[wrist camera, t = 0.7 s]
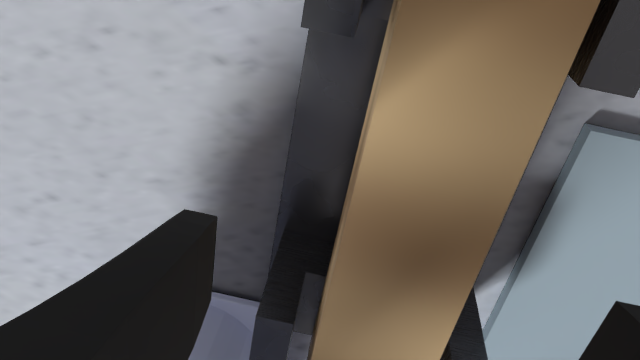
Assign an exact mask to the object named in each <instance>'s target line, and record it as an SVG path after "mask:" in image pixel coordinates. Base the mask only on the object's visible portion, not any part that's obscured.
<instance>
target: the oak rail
mask: <svg viewBox="0 0 640 360" xmlns="http://www.w3.org/2000/svg"><path fill="white" fill-rule="evenodd" d="M600 1H601V0H394V1H393V5H392V9H391V13H390V17H389V21H388V25H387V30H386V34H385V38H384V42H383V46H382V50H381V54H380V58H379V62H378V67H377V71H376V75H375V79H374V83H373V87H372V91H371V95H370V99H369V104H368V108H367V112H366V116H365V120H364V124H363V128H362V132H361V136H360V141H359V145H358V149H357V153H356V157H355V161H354V165H353V169H352V173H351V178H350V182H349V186H348V190H347V194H346V198H345V202H344V206H343V210H342V215H341V219H340V223H339V227H338V231H337V235H336V239H335V243H334V247H333V252H332V256H331V260H330V264H329V268H328V272H327V276H326V280H325V284H324V289H323V293H322V297H321V301H320V305H319V309H318V313H317V317H316V321H315V326H314V330H313V334H312V338H311V342H310V347H309V352H308V357H307V360H440V358H441V356H442V354H443V351H444V349H445V347H446V345H447V343H448V340H449V338H450V336H451V334H452V331H453V329H454V327H455V325H456V322H457V320H458V318H459V316H460V313H461V311H462V309H463V307H464V305H465V302H466V300H467V298H468V296H469V293H470V291H471V289H472V287H473V284H474V282H475V280H476V278H477V275H478V273H479V271H480V269H481V267H482V264H483V262H484V260H485V258H486V255H487V253H488V251H489V249H490V246H491V244H492V242H493V240H494V238H495V235H496V233H497V231H498V229H499V226H500V224H501V222H502V220H503V217H504V215H505V213H506V211H507V208H508V206H509V204H510V202H511V200H512V197H513V195H514V193H515V191H516V188H517V186H518V184H519V182H520V179H521V177H522V175H523V173H524V170H525V168H526V166H527V164H528V162H529V159H530V157H531V155H532V153H533V150H534V148H535V146H536V144H537V141H538V139H539V137H540V135H541V132H542V130H543V128H544V126H545V124H546V121H547V119H548V117H549V115H550V112H551V110H552V108H553V106H554V103H555V101H556V99H557V97H558V94H559V92H560V90H561V88H562V86H563V83H564V81H565V79H566V77H567V74H568V72H569V70H570V68H571V65H572V63H573V61H574V59H575V56H576V54H577V52H578V50H579V48H580V45H581V43H582V41H583V39H584V36H585V34H586V32H587V30H588V27H589V25H590V23H591V21H592V18H593V16H594V14H595V12H596V10H597V7H598V5H599V3H600Z"/></svg>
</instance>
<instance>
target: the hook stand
mask: <svg viewBox="0 0 640 360" xmlns="http://www.w3.org/2000/svg"><path fill="white" fill-rule="evenodd" d="M393 1H394V0H305V3H304V9H303V16H302V22H301V27H304V28H309V31H308V37H307V43H306V49H305V55H304V61H303V67H302V73H301V79H300V86H299V92H298V98H297V104H296V110H295V116H294V122H293V128H292V134H291V140H290V146H289V153H288V159H287V165H286V171H285V177H284V183H283V189H282V195H281V201H280V207H279V213H278V220H277V226H276V232H275V238H274V244H273V250H272V256H271V262H270V268H269V274H268V280H267V283H266V286H265V289H264V292H263V295H262V298H261V302H260V305H259V308H258V311H257V314H256V318H255V324H254V330H253V337H252V343H251V350H250V356H249V360H286V359H287V355H288V351H289V346H290V342H291V338H292V333H293V331H296V332H300V333H304V334H309V335H312V334H313V330H314V326H315V321H316V317H317V313H318V309H319V305H320V301H321V297H322V293H323V289H324V284H325V280H326V276H327V272H328V268H329V264H330V260H331V256H332V252H333V247H334V243H335V239H336V235H337V231H338V227H339V223H340V219H341V215H342V210H343V206H344V202H345V198H346V194H347V190H348V186H349V182H350V178H351V173H352V169H353V165H354V161H355V157H356V153H357V149H358V145H359V141H360V136H361V132H362V128H363V124H364V120H365V116H366V112H367V108H368V104H369V99H370V95H371V91H372V87H373V83H374V79H375V75H376V71H377V67H378V62H379V58H380V54H381V50H382V46H383V42H384V38H385V34H386V30H387V25H388V21H389V17H390V13H391V9H392V5H393ZM568 75H569V76H570V77H571V78H572V79H573V80H574V81H575V82H576V83H577V85H578V86H580V87H584V88H589V89H594V90H598V91H603V92H608V93H612V94H617V95H622V96H626V97H631V98H634V97H635V95H636V93H637V92H638V90H639V88H640V0H601V1H600V3H599V5H598V7H597V10H596V12H595V14H594V16H593V18H592V21H591V23H590V25H589V27H588V30H587V32H586V34H585V36H584V39H583V41H582V43H581V45H580V48H579V50H578V52H577V54H576V56H575V59H574V61H573V63H572V65H571V68H570V70H569V72H568V74H567V76H568ZM566 79H567V77H566ZM566 79H565V81H566ZM565 81H564V83H565ZM564 83H563V85H564ZM562 88H563V86H562ZM562 88H561V90H562ZM561 90H560V92H561ZM560 92H559V94H560ZM559 94H558V97H559ZM558 97H557V99H558ZM557 99H556V101H557ZM556 101H555V103H556ZM555 103H554V105H555ZM553 108H554V106H553ZM553 108H552V110H553ZM552 110H551V112H552ZM551 112H550V114H551ZM549 117H550V115H549ZM549 117H548V119H549ZM548 119H547V121H548ZM547 121H546V123H547ZM545 126H546V124H545ZM545 126H544V128H545ZM544 128H543V130H544ZM543 130H542V132H543ZM542 132H541V134H542ZM540 137H541V135H540ZM540 137H539V139H540ZM539 139H538V141H539ZM538 141H537V143H538ZM536 146H537V144H536ZM536 146H535V148H536ZM535 148H534V150H535ZM534 150H533V152H534ZM532 155H533V153H532ZM532 155H531V157H532ZM531 157H530V159H531ZM530 159H529V161H530ZM528 163H529V162H528ZM527 166H528V164H527ZM527 166H526V168H527ZM526 168H525V170H526ZM525 170H524V172H525ZM523 175H524V173H523ZM523 175H522V177H523ZM522 177H521V179H522ZM521 179H520V181H521ZM519 184H520V182H519ZM519 184H518V186H519ZM518 186H517V188H518ZM517 188H516V190H517ZM515 192H516V191H515ZM514 195H515V193H514ZM514 195H513V197H514ZM513 197H512V199H513ZM511 201H512V200H511ZM510 204H511V202H510ZM510 204H509V206H510ZM509 206H508V208H509ZM508 208H507V210H508ZM506 213H507V211H506ZM506 213H505V215H506ZM505 215H504V217H505ZM504 217H503V219H504ZM502 221H503V220H502ZM501 224H502V222H501ZM501 224H500V226H501ZM500 226H499V228H500ZM498 230H499V229H498ZM497 233H498V231H497ZM497 233H496V235H497ZM496 235H495V237H496ZM494 239H495V238H494ZM493 242H494V240H493ZM493 242H492V244H493ZM492 244H491V246H492ZM491 246H490V248H491ZM489 250H490V249H489ZM488 253H489V251H488ZM488 253H487V255H488ZM487 255H486V257H487ZM485 259H486V258H485ZM484 262H485V260H484ZM484 262H483V264H484ZM483 264H482V266H483ZM481 268H482V267H481ZM480 270H481V269H480ZM479 273H480V271H479ZM479 273H478V275H479ZM478 275H477V277H478ZM476 279H477V278H476ZM475 282H476V280H475ZM475 282H474V284H475ZM474 284H473V286H474ZM440 360H488V357H487V352H486V347H485V342H484V337H483V333H482V328H481V323H480V318H479V313H478V308H477V303H476V298H475V293H474V288H473V287H472V289H471V291H470V293H469V296H468V298H467V300H466V302H465V305H464V307H463V309H462V311H461V313H460V316H459V318H458V320H457V322H456V325H455V327H454V329H453V331H452V334H451V336H450V338H449V340H448V343H447V345H446V347H445V349H444V351H443V354H442V356H441V358H440Z"/></svg>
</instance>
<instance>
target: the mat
mask: <svg viewBox="0 0 640 360" xmlns="http://www.w3.org/2000/svg"><path fill="white" fill-rule="evenodd" d="M615 301H619V302H624V303H629V304H634V305H638V306H640V135H636V134H632V133H627V132H623V131H618V130H613V129H609V128H604V127H599V126H595V125H590V124H584V126H583V128H582V130H581V132H580V134H579V136H578V138H577V140H576V142H575V144H574V146H573V148H572V150H571V152H570V154H569V156H568V158H567V160H566V162H565V165H564V167H563V169H562V171H561V173H560V175H559V177H558V179H557V181H556V183H555V185H554V187H553V189H552V191H551V193H550V195H549V197H548V199H547V201H546V203H545V205H544V207H543V209H542V211H541V213H540V215H539V217H538V219H537V222H536V224H535V226H534V228H533V230H532V232H531V234H530V236H529V238H528V240H527V242H526V244H525V246H524V248H523V250H522V252H521V254H520V256H519V258H518V260H517V262H516V264H515V266H514V268H513V270H512V272H511V274H510V276H509V278H508V281H507V283H506V285H505V287H504V289H503V291H502V293H501V295H500V297H499V299H498V301H497V303H496V305H495V307H494V309H493V311H492V313H491V315H490V317H489V319H488V321H487V323H486V325H485V327H484V329H483V331H482V333H483V337H484V342H485V347H486V352H487V357H488V360H579V358H580V357H581V355H582V354H583V352H584V350H585V349H586V347H587V346H588V344H589V342H590V341H591V339H592V338H593V336H594V335H595V333H596V331H597V330H598V328H599V327H600V325H601V324H602V322H603V320H604V319H605V317H606V316H607V314H608V312H609V311H610V309H611V308H612V306H613V305H614V303H615Z"/></svg>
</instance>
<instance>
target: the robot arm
mask: <svg viewBox="0 0 640 360" xmlns="http://www.w3.org/2000/svg"><path fill="white" fill-rule="evenodd" d="M216 229H217V216H214V215H209V214H204V213H200V212H195V211H190V210H183V211H181V212H180V213H178V214H177V215H175V216H174V217H172V218H171V219H169V220H168V221H166V222H165V223H164V224H162V225H161V226H159V227H158V228H157V229H155V230H154V231H152V232H151V233H149V234H148V235H147V236H145V237H144V238H142V239H141V240H140V241H138V242H137V243H135V244H134V245H132V246H131V247H129V248H128V249H127V250H125V251H124V252H122V253H121V254H119V255H118V256H116V257H115V258H113V259H112V260H110V261H109V262H107V263H105V264H104V265H102V266H101V267H99V268H98V269H96V270H95V271H93V272H92V273H90V274H89V275H87V276H86V277H84V278H83V279H81V280H79V281H78V282H76V283H74V284H73V285H71V286H69V287H68V288H66V289H64V290H63V291H61V292H59V293H58V294H56V295H54V296H53V297H51V298H49V299H48V300H46V301H44V302H43V303H41V304H39V305H38V306H36V307H34V308H33V309H31V310H29V311H27V312H25V313H24V314H22V315H20V316H18V317H16V318H15V319H13V320H11V321H9V322H7V323H6V324H4V325H2V326H0V360H249V356H250V350H251V343H252V337H253V330H254V324H255V318H256V314H257V311H258V308H259V305H260V302H256V301H251V300H247V299H242V298H238V297H234V296H229V295H225V294H220V293H216V292H212V282H213V269H214V256H215V243H216ZM579 360H640V306H638V305H634V304H629V303H624V302H619V301H615V303H614V305H613V306H612V308H611V309H610V311H609V312H608V314H607V316H606V317H605V319H604V320H603V322H602V324H601V325H600V327H599V328H598V330H597V331H596V333H595V335H594V336H593V338H592V339H591V341H590V342H589V344H588V346H587V347H586V349H585V350H584V352H583V354H582V355H581V357H580V358H579Z"/></svg>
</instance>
